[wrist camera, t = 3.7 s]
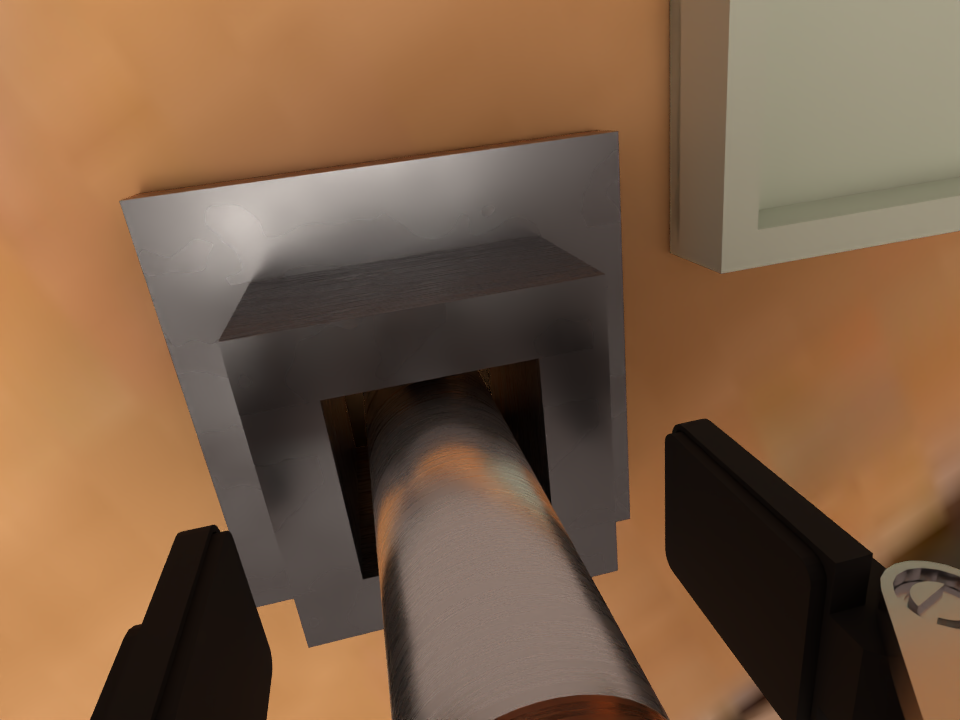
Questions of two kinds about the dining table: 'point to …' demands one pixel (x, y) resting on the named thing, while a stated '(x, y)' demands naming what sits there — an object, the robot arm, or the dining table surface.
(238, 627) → the robot arm
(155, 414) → the dining table surface
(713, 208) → the tray
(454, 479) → the pin
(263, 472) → the block
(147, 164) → the dining table surface
